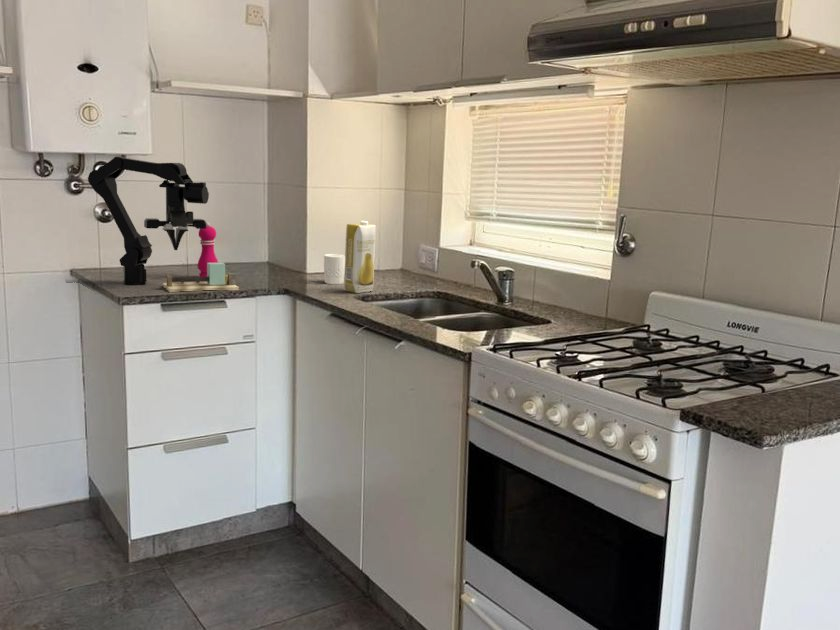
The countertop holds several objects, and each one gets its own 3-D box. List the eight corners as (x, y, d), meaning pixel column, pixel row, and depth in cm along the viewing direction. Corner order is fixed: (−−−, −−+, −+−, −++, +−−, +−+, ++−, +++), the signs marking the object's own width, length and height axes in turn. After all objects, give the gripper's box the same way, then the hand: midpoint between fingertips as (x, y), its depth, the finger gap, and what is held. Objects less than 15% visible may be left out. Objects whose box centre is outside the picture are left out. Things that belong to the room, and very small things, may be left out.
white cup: (318, 283, 283) (319, 255, 281) (330, 280, 290) (331, 253, 288) (337, 285, 280) (338, 257, 278) (349, 282, 287) (350, 255, 285)
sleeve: (209, 285, 260) (209, 264, 258) (207, 283, 263) (207, 262, 262) (225, 284, 262) (225, 264, 261) (222, 282, 266) (222, 262, 264)
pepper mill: (205, 280, 276) (203, 223, 272) (194, 277, 281) (192, 221, 277) (223, 278, 281) (221, 222, 277) (211, 275, 286) (210, 220, 282)
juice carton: (356, 294, 264) (359, 222, 260) (340, 290, 270) (343, 219, 265) (376, 291, 271) (379, 221, 267) (360, 288, 276) (363, 219, 272)
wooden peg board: (169, 292, 250) (169, 277, 249) (162, 286, 261) (162, 272, 260) (238, 290, 260) (238, 276, 260) (229, 284, 271) (229, 270, 270)
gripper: (149, 203, 245) (149, 253, 248) (209, 204, 254) (210, 252, 257) (143, 200, 255) (144, 249, 258) (202, 202, 263) (202, 248, 266)
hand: (175, 250), depth 259 cm, fingers closed
